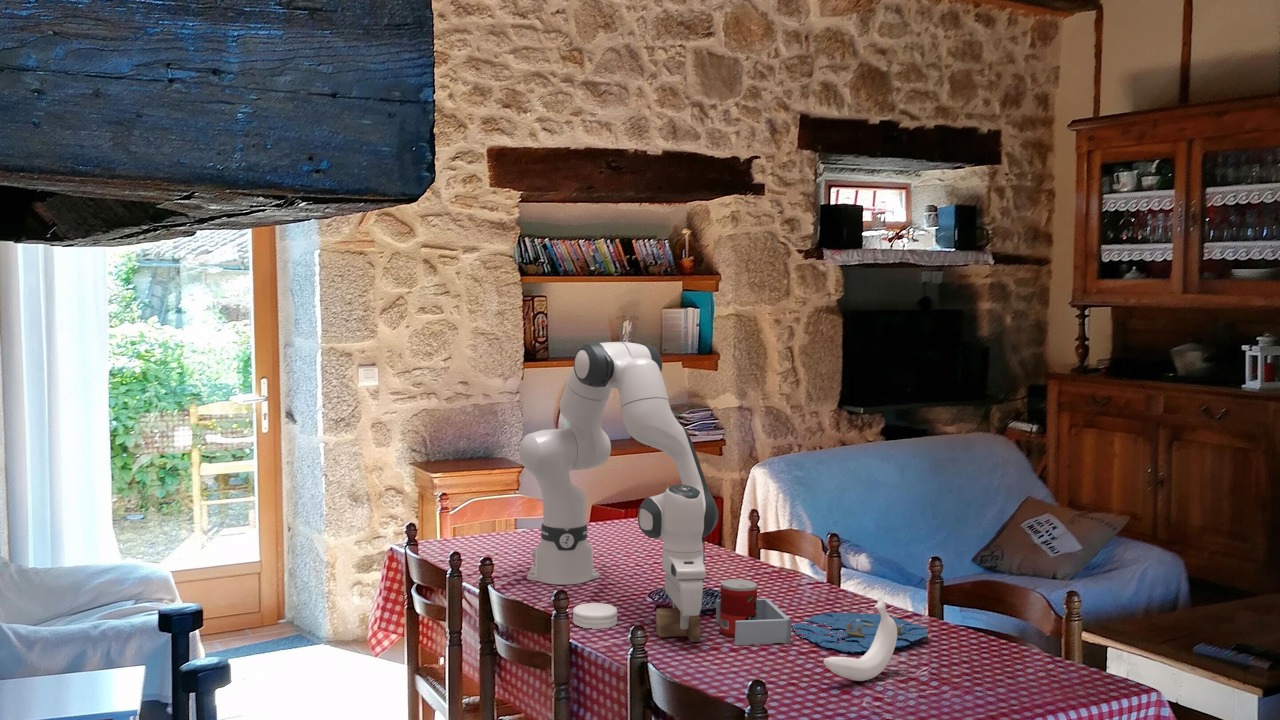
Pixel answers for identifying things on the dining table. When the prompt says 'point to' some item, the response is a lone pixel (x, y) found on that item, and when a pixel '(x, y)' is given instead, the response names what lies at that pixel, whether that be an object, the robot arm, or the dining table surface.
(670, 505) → the robot arm
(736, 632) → the box
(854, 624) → the decorative plate
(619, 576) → the dining table surface
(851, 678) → the banana
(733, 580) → the canned food
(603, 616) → the white round container
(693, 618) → the t-shaped block
